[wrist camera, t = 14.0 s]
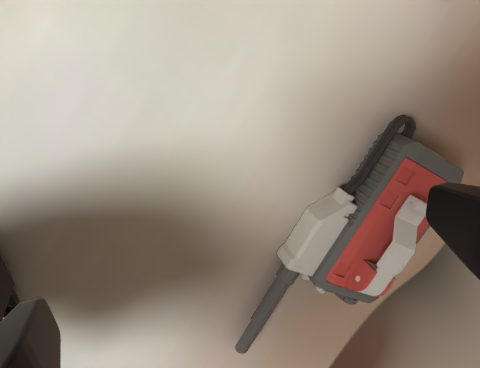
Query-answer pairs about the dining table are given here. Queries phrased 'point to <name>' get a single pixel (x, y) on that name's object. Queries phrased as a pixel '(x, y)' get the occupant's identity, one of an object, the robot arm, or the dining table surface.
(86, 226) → the dining table surface
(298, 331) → the dining table surface
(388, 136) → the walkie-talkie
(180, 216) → the dining table surface
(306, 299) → the dining table surface
